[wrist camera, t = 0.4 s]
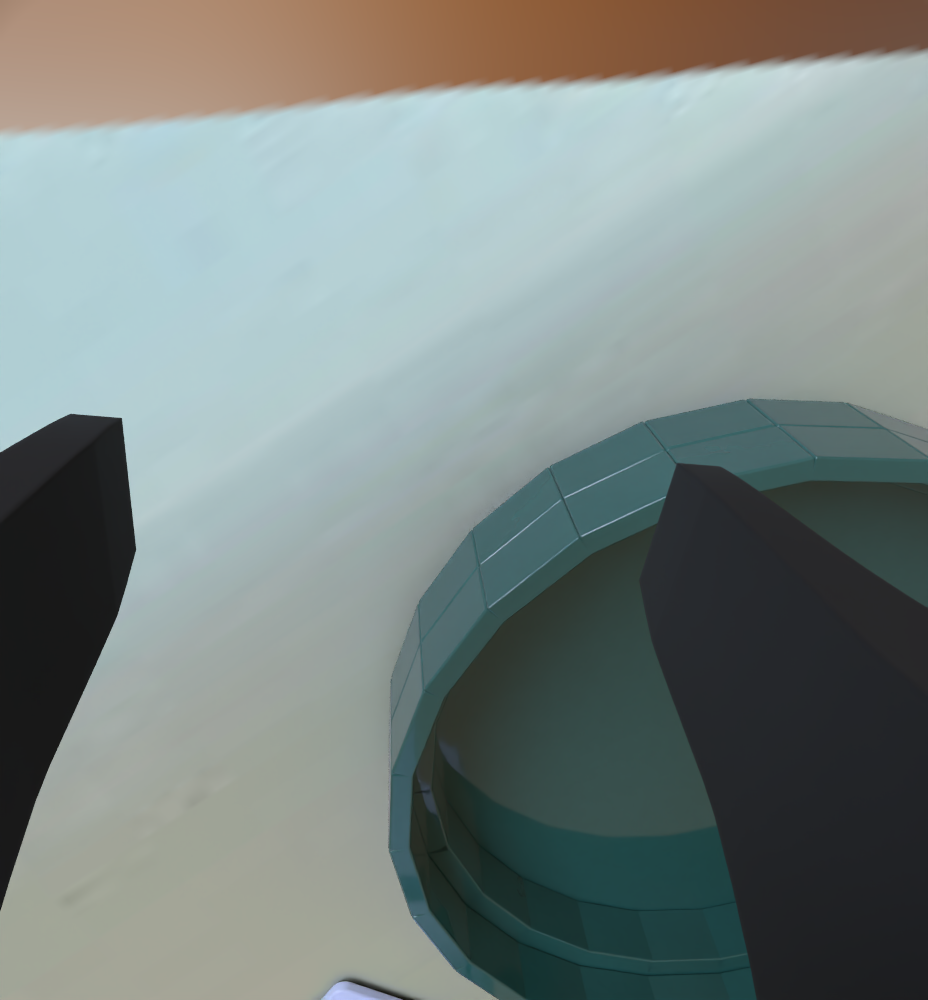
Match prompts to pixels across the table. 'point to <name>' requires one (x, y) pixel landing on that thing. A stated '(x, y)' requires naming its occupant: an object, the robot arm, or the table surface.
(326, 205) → the table surface
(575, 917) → the teal bowl
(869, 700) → the robot arm
